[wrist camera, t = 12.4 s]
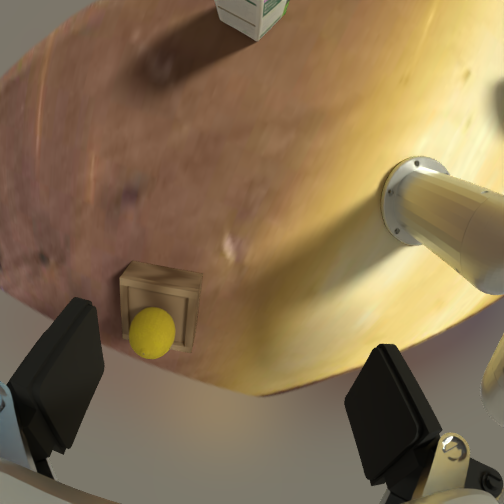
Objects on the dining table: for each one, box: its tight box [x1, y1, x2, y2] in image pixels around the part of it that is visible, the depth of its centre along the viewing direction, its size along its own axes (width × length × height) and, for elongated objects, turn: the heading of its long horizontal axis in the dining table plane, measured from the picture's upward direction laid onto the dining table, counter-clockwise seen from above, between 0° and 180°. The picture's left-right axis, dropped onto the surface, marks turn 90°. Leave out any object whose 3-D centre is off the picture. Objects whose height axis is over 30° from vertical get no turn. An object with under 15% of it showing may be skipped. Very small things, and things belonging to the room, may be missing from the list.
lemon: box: [129, 307, 175, 359], centre depth 33 cm, size 6×6×8 cm
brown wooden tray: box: [120, 261, 203, 353], centre depth 38 cm, size 10×10×5 cm
